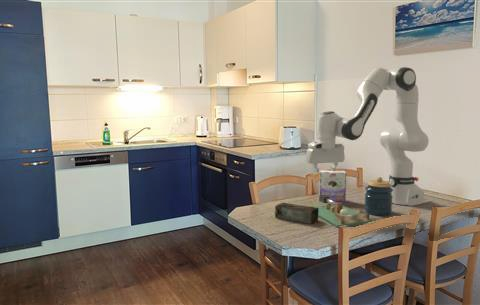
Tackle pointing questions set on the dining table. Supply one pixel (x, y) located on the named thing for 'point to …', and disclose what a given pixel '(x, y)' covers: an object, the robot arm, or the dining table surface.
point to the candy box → (333, 185)
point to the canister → (378, 197)
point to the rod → (331, 202)
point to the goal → (352, 218)
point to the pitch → (329, 215)
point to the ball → (344, 212)
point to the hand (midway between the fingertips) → (325, 171)
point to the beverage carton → (297, 213)
